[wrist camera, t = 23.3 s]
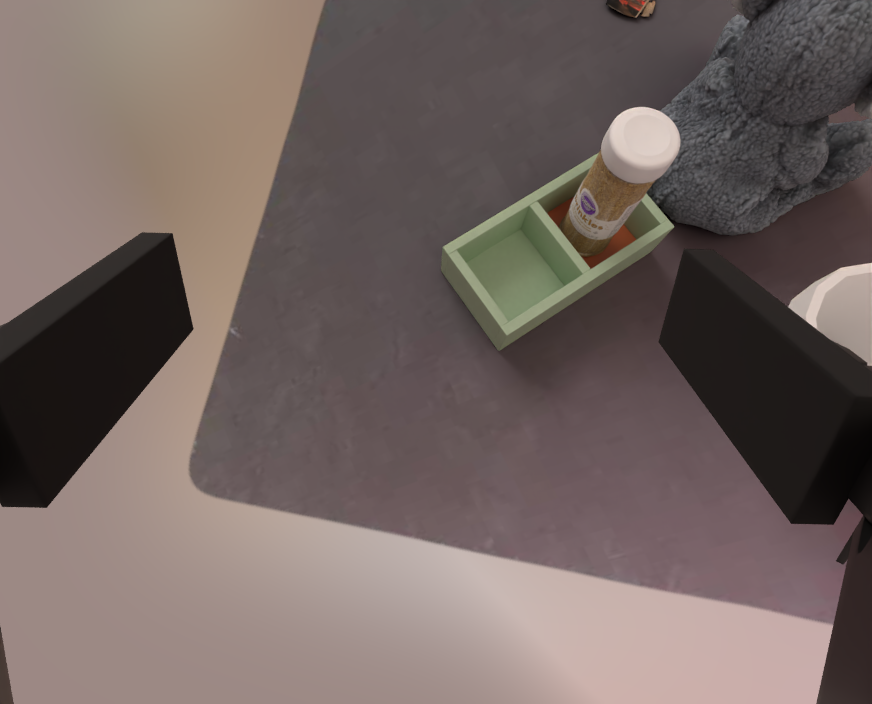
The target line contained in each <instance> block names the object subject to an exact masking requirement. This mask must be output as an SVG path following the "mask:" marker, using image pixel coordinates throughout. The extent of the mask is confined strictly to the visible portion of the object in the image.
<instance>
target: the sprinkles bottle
mask: <svg viewBox="0 0 872 704" xmlns="http://www.w3.org/2000/svg"><path fill="white" fill-rule="evenodd" d="M679 149H680V134H679V131H678V129H677V127H676V125H675V124H674V122H673V121H672V120H671V119H670V118H669V117H668V116H666V115H665V114H663V113H662V112H660V111H658V110H655V109H652V108H647V107H636V108H631V109H628V110H626V111H624V112H622V113H621V114H619V115H618V116H617V117H616V118H615V119H614V121H613V122H612V124H611V126H610V127H609V129H608V131H607V133H606V134H605V136H604V138H603V141H602V145H601V150H600V152H599V154H598V155H597V158H596V159H595V161H594V163H593V165H592V167H591V168H590V170H589V172H588V174H587V176H586V177H585V179H584V180H583V182H582V183H581V185H580V187H579V189H578V191H577V193H576V195H575V197H574V198H573V200H572V202H571V205H570V208H569V210H568V212H567V214H566V216H564V217H563V219H562V221H561V223H560V225H559V229H560V230H561V232H562V233H563V234H564V236H565V237H566V238H567V239H568V241H569V242H570V243H571V244H572V246H573V247H574V248H575V250H576V251H577V252H578V253H579V255H580V256H581V257H582V256H584V257H590V256H595V255H598V254H600V253H602V252H603V251H604V249H606V248H607V246H608V245H609V243H610V240H611V239H612V237H613V236H614V235H615V234H616V233H617V232H618V231H619V229H620V228H621V227H622V225H623V224H624V223H625V221H626V220H627V219H628V217H629V216H630V214H631V213H632V212H633V210H634V209H635V208H636V206H637V205H638V204H639V203H640V201H641V200H642V199H643V197H644V196H645V194H646V192H647V190H648V189H649V188H650V187H651V186H652V184H653V183H654V182H655V180H657V179H658V178H659V177H661V176H662V175H663V174H664V173H665V172H666V170H667V169H668V168H669V166H670V165H671V164H672V162H673V161H674V159H675V158H676V156H677V154H678V152H679Z"/></svg>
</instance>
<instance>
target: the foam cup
mask: <svg viewBox="0 0 872 704" xmlns="http://www.w3.org/2000/svg"><path fill="white" fill-rule="evenodd" d="M788 308H790V309H791V310H792V311H794V312H795V313H796V314H798V315H799V316H800V317H801V318H803V319H804V320H805V321H807V322H808V323H809V324H811V325H812V326H813V327H814V328H816V329H817V330H818V331H820V332H821V333H822V334H824V335H825V336H826V337H827V338H829V339H830V340H832V341H834V342H836V343H838V344H840V345H842V346H844V347H846V348H848V349H850V350H851V351H852V352H854V353H855V354H856V355H858V356H859V357H860V358H862V359H863V360H864V361H866V362H867V366H872V263H868V264H862V265H855V266H849V267H843V268H840V269H838V270H836V271H834V272H832V273H830V274H829V275H827V276H825V277H823V278H821V279H819V280H818V281H816V282H814V283H813V284H811V285H810V286H809V287H808V288H806V289H805V290H804V291H802V292H801V293H800V294H798V295H797V296H796V297H795V298H793V299H792V300H791V302H790V305H789V306H788Z"/></svg>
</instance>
